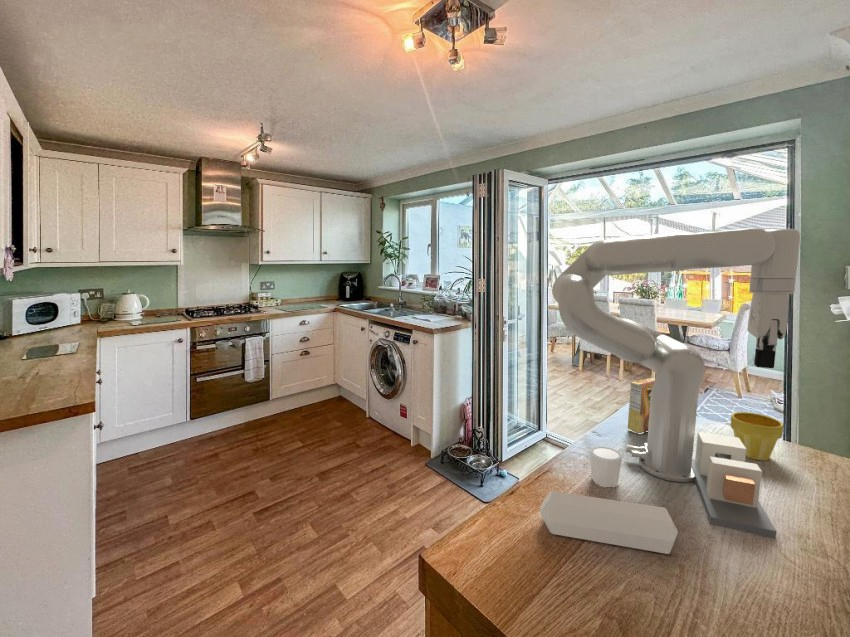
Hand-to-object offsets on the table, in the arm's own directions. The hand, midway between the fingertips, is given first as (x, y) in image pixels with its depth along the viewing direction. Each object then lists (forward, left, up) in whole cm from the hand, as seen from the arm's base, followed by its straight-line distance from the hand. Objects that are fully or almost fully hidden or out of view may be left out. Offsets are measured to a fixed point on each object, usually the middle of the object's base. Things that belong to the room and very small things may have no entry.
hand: (763, 366), depth 89 cm
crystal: (-31, -36, -27) cm, 54 cm away
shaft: (-7, -11, -23) cm, 26 cm away
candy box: (-21, +17, -27) cm, 39 cm away
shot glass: (-31, -17, -27) cm, 45 cm away
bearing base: (-7, -12, -27) cm, 30 cm away
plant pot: (+4, +12, -27) cm, 30 cm away
